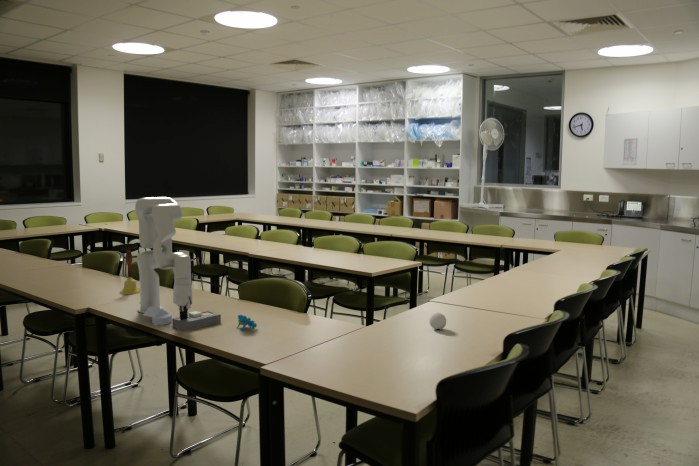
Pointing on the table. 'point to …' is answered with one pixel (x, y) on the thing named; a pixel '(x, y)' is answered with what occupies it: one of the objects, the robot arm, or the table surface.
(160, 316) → the wedge on round base
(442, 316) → the ball
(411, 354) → the table surface
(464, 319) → the table surface
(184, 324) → the button panel
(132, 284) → the handbell
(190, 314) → the button
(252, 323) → the blue flower cluster
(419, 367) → the table surface
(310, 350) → the table surface
